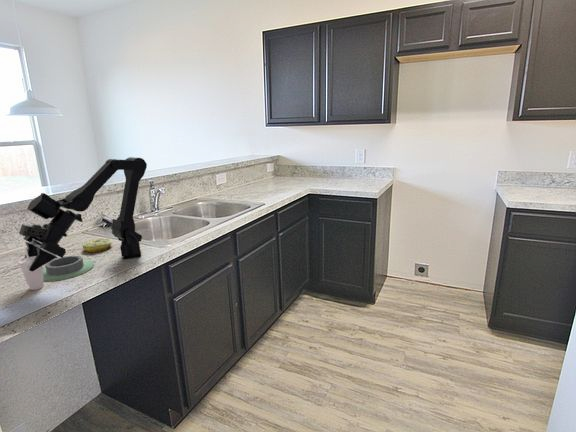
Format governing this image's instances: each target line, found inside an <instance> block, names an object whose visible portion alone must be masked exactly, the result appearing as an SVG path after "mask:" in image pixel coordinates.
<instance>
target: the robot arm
mask: <svg viewBox="0 0 576 432" xmlns="http://www.w3.org/2000/svg"><path fill="white" fill-rule="evenodd" d="M147 165H148V163H147V162H146V160H145V159H144V158H142V157H134V156H133V157H132V156H131V157H127V158H125V159H116V158H109V159H107V160H106V161H105V162H104V164H103V165H102V166H101V167H100V168H98V170H97V171H96V172H95V173H94V174H93V175H92V176H91V177H90V178H89V179H88V180H87V181H86V182H85V183H84V184H83V185H82V186H80V187H78V188H75V190H73V191H72V192H70V193H68V194H67V195H66V196H65V197H64V198H62V199H58V200H55V199H53V198H52V197H50V195H48V194H46V193H44V192H41V193H40V194H39V195H37V196H36V197H35V198H34V199H32V200H31V201H30V202H29V204H28V205H27V210H28V211H29V212H31V213H33V214H35V215H37V216H39V217H40V218H42V219H44V220H48V219H51V220H50V221H49V222H48V223H45V224H43V225H42V226H41V225H39V224H38V225H37V224H32V225H30V224H25V223H24V224H23V223H22V224H21V226H20V230H19V233H18V234H19V235H21V236H23V240H24V241H25V244H26V247H27V251H28V255H29V257H32V256H36V258H35V260H34V261H33V263H32V265H31V267H30V269H29V270H30V271H34V270H36V269H38V268H39V267H41V266H42V267H43V266H44V265H46V264H47V263H48V262H50V261H52V260H54V259H57V258H61V257H62V258H63V257H65V255H66V253H67V251H66V248H64V247H62V246H61V245H60V241H61V240H62V239H63V237H65V238H66V237H68V234H67V232H68V231H69V229H70V228H71V227H72V226H73V224H74V223H75V221H76V222H79V223H82V222H83V217H82V214H81V212H85V211H86V210H88V208H90V205H91V204H92V203H93V200H94V198H95V196H96V194H97V192H98V191H100V189H101V188H102V187H103V186H104V185H105V184H106V183H107V182H108V181H109V180H110V178H112V177H113V175H114V174H115V173H117V171H118V170H119V171H120V170H121V171H123V174H124V177H125V183H124V188H123V193H122V201H121V205H120V211H119V215H118V217H117V218H116V219H114V218H113V219H112V223H111V227H110V230H111V233H112V235H113V236H114V237H115V238H117V239H118V241H121V243H120V253H121V257H122V259H123V260H127V259H128V260H129V259H134V258H139V257H140V258H141V257H142V250H141V244H140V242H142V239H143V235H142V234H140V233H138V232H137V231H136V223H135V219H134V214H135V208H136V202H137V197H138V192H139V191H138V190H139V187H140V186H139V184H140V181H141V180H142V178H143V177H144V175H145V173H146V170H147ZM62 208H63V209H62ZM64 209H66V210H64ZM71 210H72V211H75V212H80V213H75V212H72V211H71ZM24 258H27V257H26V254H25V255H24Z"/></svg>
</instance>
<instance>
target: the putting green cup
mask: <svg viewBox="0 0 576 432" xmlns="http://www.w3.org/2000/svg"><path fill="white" fill-rule="evenodd" d="M44 265H45V267H43V282H54V281H62V280H68V279H71V278H74V277H75V278H76V277H78V276H81V275H83V274H85V273H87V272H90V271H91V270H92V269H93V268H94V266H95V262H94V261H92V260H90V259H84V258H83V257H82V256H80V255H68V256H63V258H62V257H58V258H55V259H53V260H51V261H50V262H48V263H46V264H44Z"/></svg>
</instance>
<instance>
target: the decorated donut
mask: <svg viewBox="0 0 576 432" xmlns="http://www.w3.org/2000/svg"><path fill="white" fill-rule="evenodd" d="M112 245H113V242H112V240H111V239H110V238H105V237H100V238H99V237H98V238H94V239H90V240H87V241H85V242H84V243H82V249H83V251H85V252H88V253H97V252H102V251H106V250H108V248H110V247H111V246H112Z"/></svg>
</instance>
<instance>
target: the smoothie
mask: <svg viewBox="0 0 576 432" xmlns="http://www.w3.org/2000/svg"><path fill="white" fill-rule="evenodd" d="M23 249H24V252H25V255H26V257H27V258H25V257H24V258H22V259H20V260H18V261H17V264H18V267H20V269H21V272H22V274H23V276H24V278H25V281H26V283H27V286H28V288H29V290H31V291H35V290H39V289H42V288H44V286H45V284H44V282H45V281H43V269H44V267H43V266H41V267H39V268H38V269H36V270H34V271H30V270H29V269H30V267H31V265H32V263H33V261H34V260H35V258H36V256H32V257H29V255H28V251H27V246H24V248H23Z"/></svg>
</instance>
